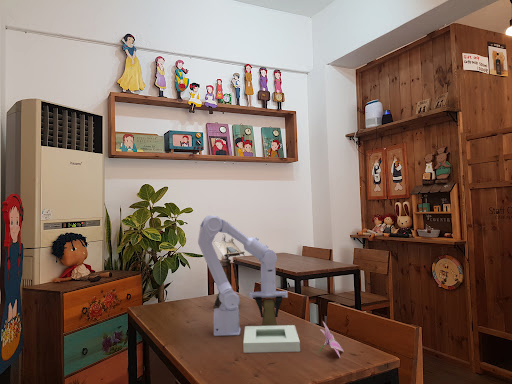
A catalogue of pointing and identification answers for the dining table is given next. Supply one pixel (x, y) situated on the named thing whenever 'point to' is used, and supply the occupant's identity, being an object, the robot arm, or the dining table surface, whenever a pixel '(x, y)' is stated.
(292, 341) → the slot box
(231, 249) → the bird statue
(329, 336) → the lily
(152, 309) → the dining table surface
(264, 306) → the cork
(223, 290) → the robot arm
